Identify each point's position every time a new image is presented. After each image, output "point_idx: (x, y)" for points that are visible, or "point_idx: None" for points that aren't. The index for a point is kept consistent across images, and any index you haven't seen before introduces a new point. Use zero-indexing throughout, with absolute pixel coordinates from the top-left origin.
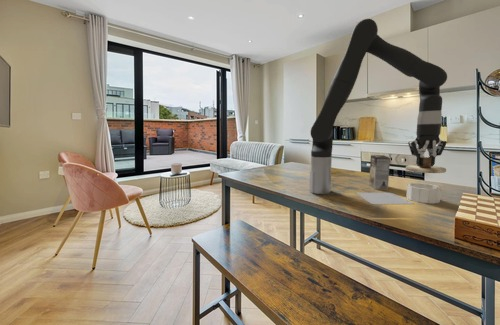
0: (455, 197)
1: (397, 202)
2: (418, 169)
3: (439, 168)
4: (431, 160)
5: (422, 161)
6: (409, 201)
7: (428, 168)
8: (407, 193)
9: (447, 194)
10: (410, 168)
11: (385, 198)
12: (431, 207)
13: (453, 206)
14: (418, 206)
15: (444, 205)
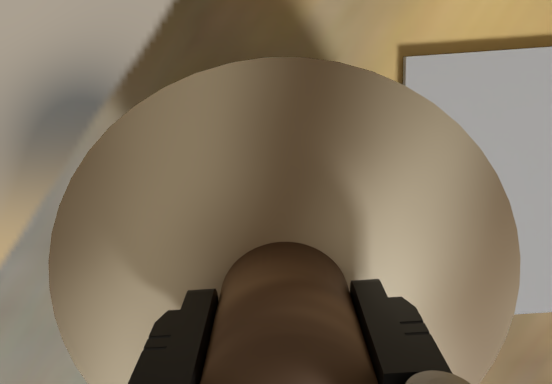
0: (22, 244)
1: (505, 85)
2: (474, 159)
3: (135, 228)
4: (203, 353)
5: (375, 321)
6: None
7: (283, 233)
8: None
9: (37, 308)
10: (518, 251)
11: (530, 180)
12: (315, 8)
13: (151, 39)
14: (391, 28)
15: (198, 60)
